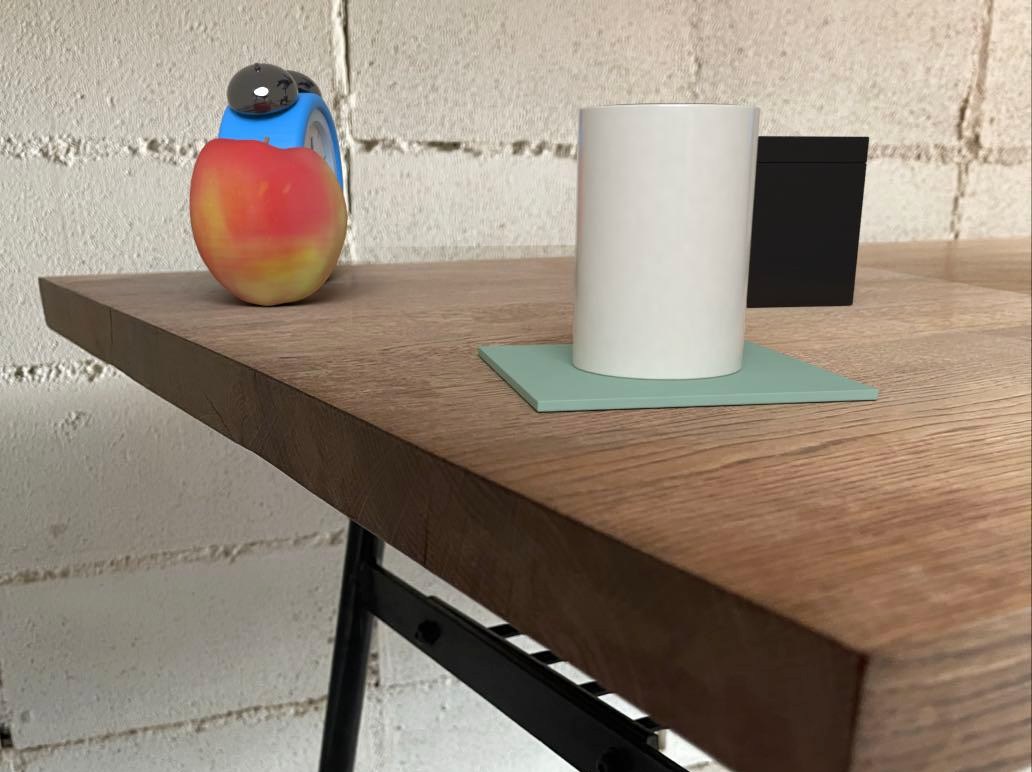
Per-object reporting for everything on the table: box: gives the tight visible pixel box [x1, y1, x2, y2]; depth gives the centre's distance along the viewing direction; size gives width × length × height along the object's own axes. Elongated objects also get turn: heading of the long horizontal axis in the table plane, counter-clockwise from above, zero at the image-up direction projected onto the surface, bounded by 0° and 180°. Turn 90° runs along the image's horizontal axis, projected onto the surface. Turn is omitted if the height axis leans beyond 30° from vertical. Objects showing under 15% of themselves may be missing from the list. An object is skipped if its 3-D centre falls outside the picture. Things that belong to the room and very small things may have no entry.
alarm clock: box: [217, 62, 344, 193], centre depth 82 cm, size 13×6×15 cm, turn 174°
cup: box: [572, 102, 761, 380], centre depth 45 cm, size 7×7×10 cm
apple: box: [188, 136, 349, 307], centre depth 70 cm, size 10×10×10 cm
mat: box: [477, 338, 880, 413], centre depth 47 cm, size 13×13×1 cm
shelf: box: [746, 135, 870, 308], centre depth 75 cm, size 10×14×10 cm
